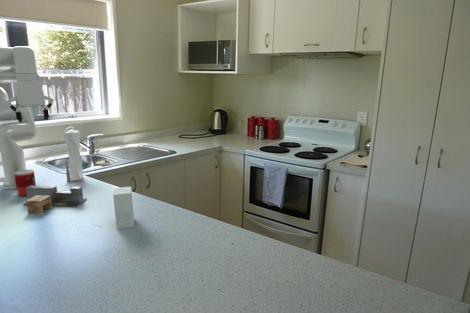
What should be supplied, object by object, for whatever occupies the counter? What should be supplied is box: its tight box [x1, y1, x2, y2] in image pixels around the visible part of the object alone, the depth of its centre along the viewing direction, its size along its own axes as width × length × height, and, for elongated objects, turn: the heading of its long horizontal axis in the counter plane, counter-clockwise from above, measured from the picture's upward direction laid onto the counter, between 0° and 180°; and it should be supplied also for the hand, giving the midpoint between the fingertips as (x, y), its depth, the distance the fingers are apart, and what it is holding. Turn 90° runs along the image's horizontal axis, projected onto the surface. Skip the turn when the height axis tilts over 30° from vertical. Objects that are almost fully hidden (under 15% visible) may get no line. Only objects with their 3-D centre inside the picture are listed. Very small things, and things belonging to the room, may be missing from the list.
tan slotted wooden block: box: [25, 195, 53, 215], centre depth 141 cm, size 6×6×6 cm
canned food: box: [14, 169, 37, 198], centre depth 160 cm, size 8×8×11 cm
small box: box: [112, 186, 135, 230], centre depth 127 cm, size 8×6×13 cm
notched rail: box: [22, 185, 88, 208], centre depth 150 cm, size 24×9×7 cm, turn 84°
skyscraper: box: [63, 125, 84, 183], centre depth 180 cm, size 8×8×28 cm
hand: (33, 120), depth 144 cm, fingers open, 9 cm apart
